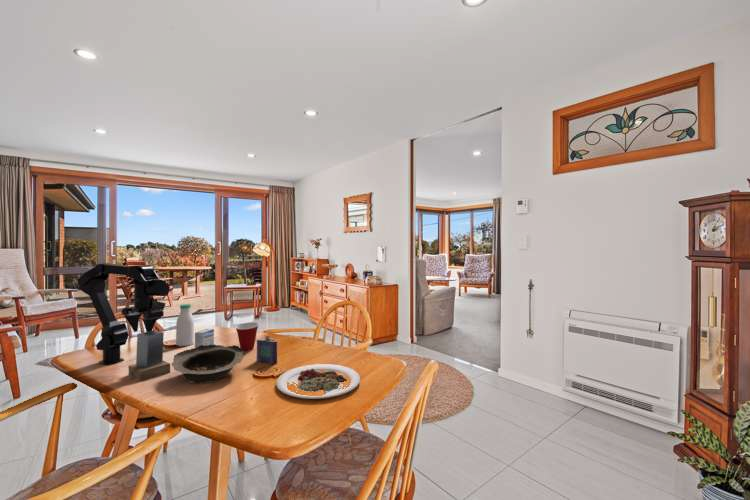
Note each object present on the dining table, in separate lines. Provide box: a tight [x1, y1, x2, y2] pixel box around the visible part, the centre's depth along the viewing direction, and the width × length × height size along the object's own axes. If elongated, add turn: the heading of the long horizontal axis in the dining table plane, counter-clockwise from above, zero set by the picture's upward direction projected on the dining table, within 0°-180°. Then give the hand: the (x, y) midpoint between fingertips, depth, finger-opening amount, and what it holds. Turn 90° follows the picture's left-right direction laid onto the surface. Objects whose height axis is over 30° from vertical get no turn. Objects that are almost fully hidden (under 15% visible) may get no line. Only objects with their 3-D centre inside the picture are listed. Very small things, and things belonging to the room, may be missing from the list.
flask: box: [256, 334, 278, 365], centre depth 139 cm, size 10×3×12 cm, turn 71°
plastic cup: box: [234, 321, 260, 352], centre depth 156 cm, size 11×11×12 cm
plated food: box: [276, 363, 361, 400], centre depth 119 cm, size 30×30×3 cm
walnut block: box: [128, 360, 171, 382], centre depth 125 cm, size 10×10×4 cm
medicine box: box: [194, 328, 215, 348], centre depth 157 cm, size 8×4×9 cm, turn 168°
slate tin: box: [135, 330, 165, 368], centre depth 125 cm, size 6×6×12 cm
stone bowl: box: [170, 343, 244, 385], centre depth 124 cm, size 25×25×9 cm
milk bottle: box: [175, 303, 195, 347], centre depth 163 cm, size 8×8×20 cm
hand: (142, 332), depth 135 cm, fingers open, 9 cm apart
